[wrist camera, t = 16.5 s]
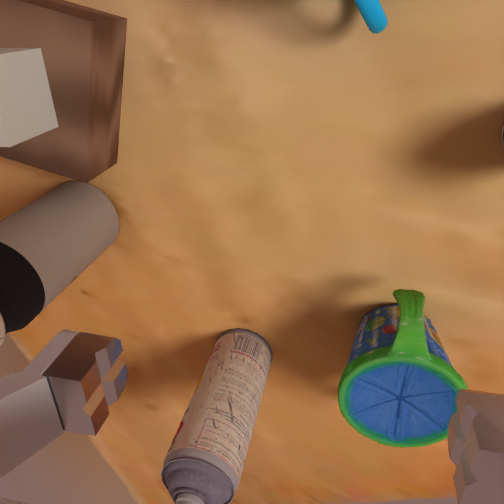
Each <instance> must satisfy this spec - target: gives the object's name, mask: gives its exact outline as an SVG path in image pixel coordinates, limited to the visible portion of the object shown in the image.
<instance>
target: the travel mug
mask: <svg viewBox="0 0 504 504" xmlns="http://www.w3.org/2000/svg"><path fill="white" fill-rule="evenodd" d="M118 232H119V218H118V215H117V212H116V210H115V208H114V206H113V204H112V203H111V201H110V200H109V199H108V197H107V196H106V195H105V194H104V193H102V192H101V191H100V190H99V189H97V188H96V187H94V186H92V185H90V184H87V183H84V182H80V181H69V182H65V183H63V184H61V185H59V186H58V187H56V188H54V189H53V190H51V191H49V192H48V193H46V194H45V195H43V196H41V197H40V198H38V199H36V200H35V201H33V202H31V203H30V204H28V205H27V206H25V207H23V208H22V209H20V210H18V211H17V212H15V213H13V214H12V215H10V216H9V217H7V218H5V219H4V220H2V221H0V346H1V344H2V343H3V341H4V338H5V335H6V333H8V332H12V331H16V330H20V329H22V328H24V327H25V326H27V325H28V324H29V323H30V322H31V321H32V320H33V319H34V318H35V317H36V316H37V315H38V314H39V313H40V312H41V311H42V310H43V309H44V308H45V307H46V306H47V305H48V304H50V303H51V302H52V301H53V300H54V299H55V298H56V297H57V296H58V295H59V294H60V293H61V292H62V291H63V290H64V289H65V288H66V287H67V286H68V285H69V284H70V283H71V282H72V281H73V280H74V279H75V278H77V277H78V276H79V275H80V274H81V273H82V272H83V271H84V270H85V269H86V268H87V267H88V266H89V265H90V264H91V263H92V262H93V261H94V260H95V259H96V258H97V257H98V256H99V255H100V254H101V253H103V252H104V251H105V250H106V249H107V248H108V247H109V246H110V245H111V244H112V243H113V242H114V241H115V239H116V237H117V235H118Z"/></svg>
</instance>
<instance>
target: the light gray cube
mask: <svg viewBox="0 0 504 504" xmlns="http://www.w3.org/2000/svg"><path fill="white" fill-rule="evenodd" d="M57 127H58V122H57V118H56V113H55V109H54V104H53V100H52V96H51V91H50V87H49V82H48V78H47V74H46V69H45V65H44V60H43V56H42V51H41V48H0V147H12V146H14V145H16V144H19V143H21V142H24V141H26V140H28V139H31V138H33V137H35V136H38V135H40V134H43V133H45V132H47V131H50V130H52V129H54V128H57Z"/></svg>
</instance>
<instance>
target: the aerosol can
mask: <svg viewBox="0 0 504 504" xmlns="http://www.w3.org/2000/svg"><path fill="white" fill-rule="evenodd" d="M271 361H272V351H271V348H270V345H269V344H268V343H267V342H266V340H265V339H264V338H263V337H261V336H260V335H258V334H257V333H255V332H253V331H250V330H247V329H240V328H237V329H230V330H228V331H226V332H224V333H222V334H221V335H220V336H219V337H218V339H217V342H216V344H215V346H214V348H213V350H212V353H211V355H210V357H209V360H208V362H207V364H206V366H205V369H204V371H203V373H202V375H201V378H200V380H199V382H198V385H197V387H196V389H195V391H194V394H193V396H192V398H191V400H190V403H189V405H188V407H187V410H186V412H185V414H184V416H183V419H182V421H181V423H180V426H179V428H178V430H177V432H176V435H175V437H174V439H173V441H172V444H171V446H170V448H169V451H168V453H167V455H166V458H165V461H164V466H163V469H162V472H161V477H162V482H163V483H164V485H165V486H166V488H167V489H168V490H169V494H170V495H171V497H172V498H173V501H174V503H175V504H229V503H230V502H231V501H232V499H233V497H234V494H235V492H236V490H237V488H238V486H239V482H240V478H241V475H242V471H243V467H244V463H245V459H246V456H247V452H248V448H249V444H250V441H251V437H252V433H253V429H254V425H255V422H256V418H257V414H258V410H259V407H260V403H261V399H262V395H263V391H264V388H265V384H266V380H267V376H268V373H269V369H270V365H271Z"/></svg>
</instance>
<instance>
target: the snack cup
mask: <svg viewBox="0 0 504 504" xmlns="http://www.w3.org/2000/svg"><path fill="white" fill-rule="evenodd" d="M393 296H394V297H395V299H396V301H397V303H398V304H394V305H389V306H383V307H380V308H377V309H375V310H373V311H372V312H370V313H368V314H366V315H365V316H364V317H363V318H362V321H361V323H360V325H359V327H358V331H357V333H356V336H355V340H354V343H353V347H352V350H351V354H350V357H349V361H348V364H347V366H346V368H345V370H344V372H343V373H342V376H341V379H340V382H339V386H338V402H339V407H340V410H341V413H342V415H343V417H344V418H345V419H346V420H347V422H348V423H349V424H350V425H351V426H352V427H353V428H354V429H356V431H358V432H359V433H361V434H362V435H364V436H366V437H368V438H370V439H372V440H374V441H377V442H378V443H380V444H384V445H388V446H394V447H420V446H426V445H430V444H433V443H437V442H439V441H441V440H443V439H446V438H447V437H448V427H449V422H450V419H451V415H452V414H454V413H456V412H457V411H458V410H457V405H456V398H457V395H458V392H459V391H460V390H461V389H467V386H466V384H465V382H464V380H463V378H462V377H461V376H460V375H459V374H458V373H457V372H456V370H455V369H454V368H453V367H452V365H451V363H450V361H449V359H448V357H447V354H446V352H445V350H444V348H443V346H442V344H441V341H440V339H439V338H438V336H437V333H436V331H435V329H434V327H433V326H432V324H431V322H430V320H429V319H427V317H425V316H424V315H423V306H424V301H425V296H424V295H423V293H421V292H418V291H415V290H403V289H399V290H395V291H394V292H393Z"/></svg>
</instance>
